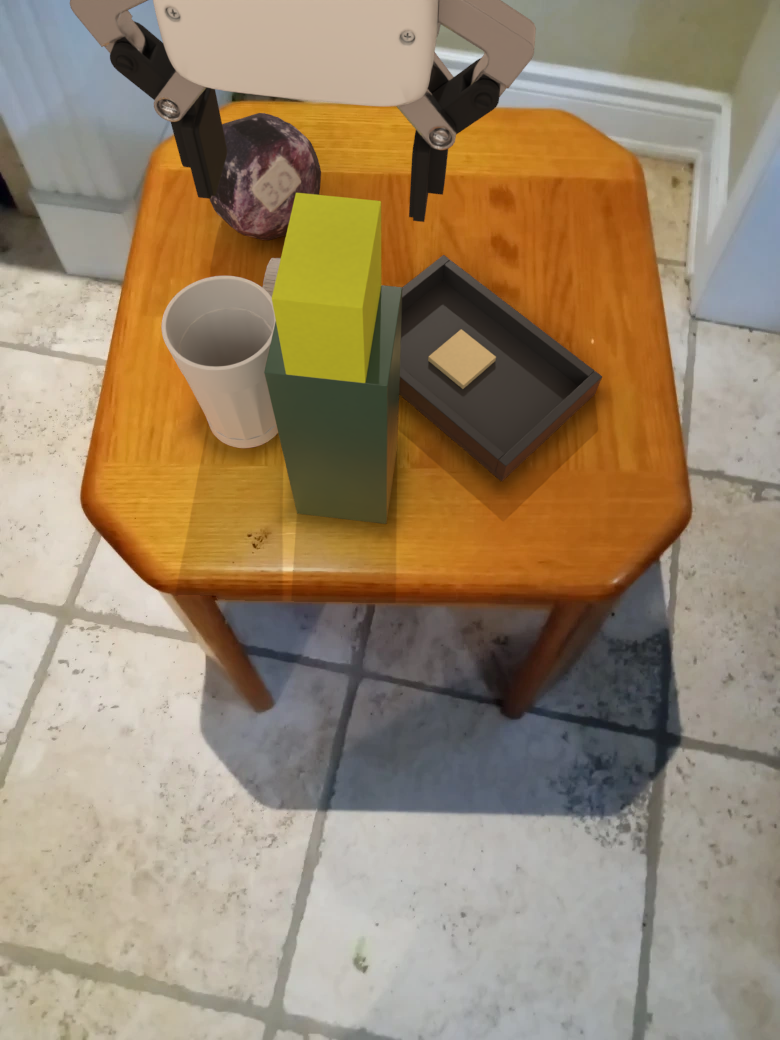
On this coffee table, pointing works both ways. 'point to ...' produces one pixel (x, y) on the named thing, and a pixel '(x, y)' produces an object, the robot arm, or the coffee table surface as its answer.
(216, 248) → the coffee table surface
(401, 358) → the pan
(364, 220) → the yellow-green rectangular block
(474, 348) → the beige flat square block
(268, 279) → the wristwatch
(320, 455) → the tall green box
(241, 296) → the cup
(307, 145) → the mineral specimen
